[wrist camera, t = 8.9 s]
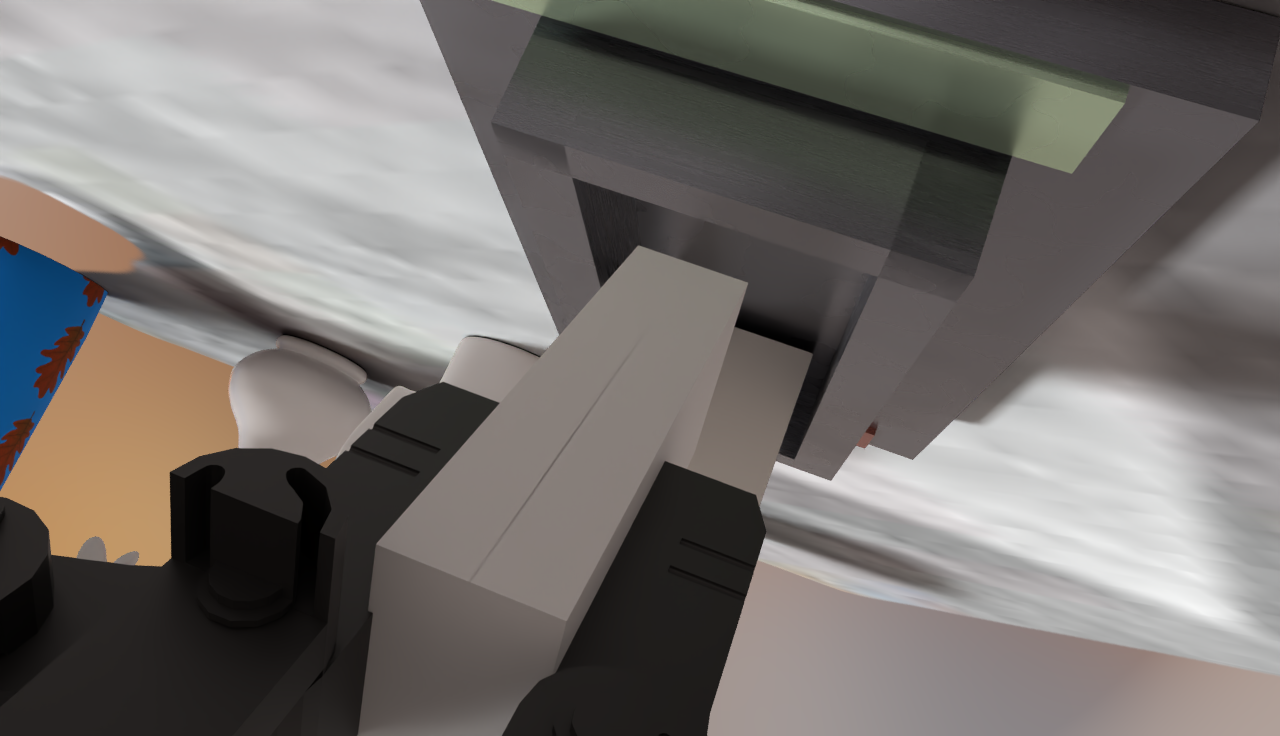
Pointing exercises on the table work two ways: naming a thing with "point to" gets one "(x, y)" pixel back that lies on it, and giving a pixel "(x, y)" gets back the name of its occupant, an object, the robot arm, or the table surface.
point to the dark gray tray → (855, 167)
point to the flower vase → (287, 407)
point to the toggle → (750, 411)
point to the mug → (466, 376)
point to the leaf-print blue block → (37, 338)
